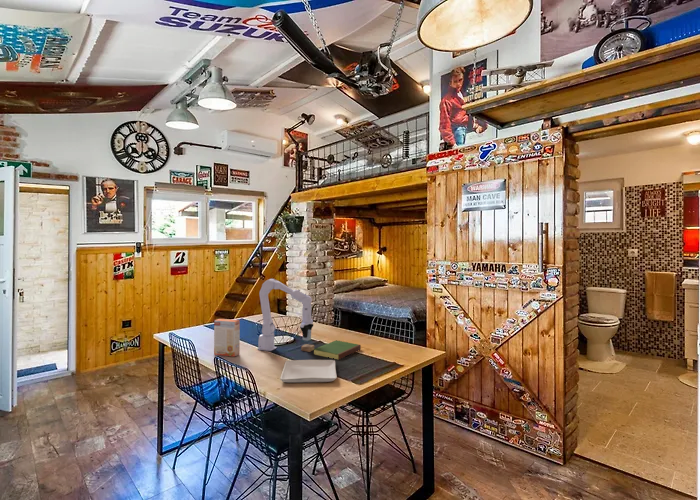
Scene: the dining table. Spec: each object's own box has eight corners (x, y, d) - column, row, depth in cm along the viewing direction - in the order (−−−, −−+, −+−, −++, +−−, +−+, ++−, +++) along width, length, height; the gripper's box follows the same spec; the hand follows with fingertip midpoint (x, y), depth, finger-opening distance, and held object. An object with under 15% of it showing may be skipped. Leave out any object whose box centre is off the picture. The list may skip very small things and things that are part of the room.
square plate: (285, 366, 208) (285, 359, 208) (335, 366, 210) (335, 359, 210) (279, 385, 181) (279, 377, 181) (336, 385, 183) (336, 377, 183)
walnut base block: (301, 351, 237) (301, 346, 237) (306, 348, 242) (306, 344, 242) (309, 352, 235) (309, 347, 235) (314, 349, 240) (314, 345, 240)
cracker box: (240, 354, 228) (240, 319, 227) (234, 357, 222) (234, 321, 221) (219, 352, 232) (219, 318, 231) (213, 354, 226) (213, 320, 225)
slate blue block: (302, 340, 237) (302, 330, 237) (305, 338, 241) (305, 329, 240) (308, 340, 236) (308, 331, 235) (311, 339, 239) (311, 329, 239)
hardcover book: (339, 360, 220) (339, 354, 220) (313, 355, 230) (313, 349, 230) (361, 350, 241) (361, 344, 241) (336, 345, 251) (336, 340, 251)
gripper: (307, 317, 229) (307, 340, 230) (317, 313, 243) (317, 334, 244) (297, 316, 232) (297, 338, 232) (307, 312, 245) (307, 333, 246)
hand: (306, 336), depth 238 cm, fingers closed on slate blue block, 4 cm apart
